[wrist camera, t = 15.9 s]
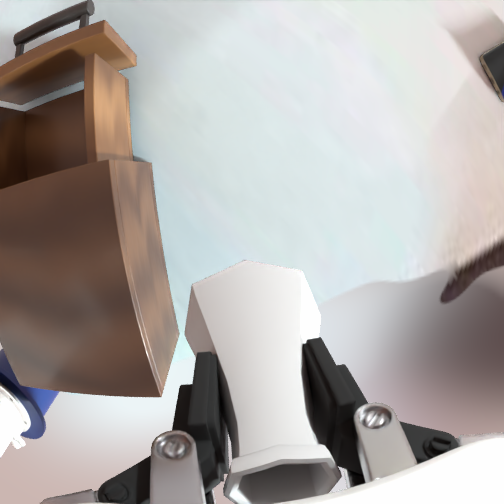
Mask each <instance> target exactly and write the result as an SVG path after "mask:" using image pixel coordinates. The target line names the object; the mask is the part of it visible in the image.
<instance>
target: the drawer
mask: <svg viewBox="0 0 504 504" xmlns="http://www.w3.org/2000/svg"><path fill="white" fill-rule="evenodd" d="M93 14H94V4H93V1H92V0H87V1H84V2H81V3H79V4H76V5H74V6H71V7H69V8H67V9H64V10H62V11H60V12H57V13H55V14H53V15H51V16H49V17H47V18H45V19H42V20H40V21H38V22H36V23H35V24H33V25H31V26H29V27H27V28H25V29H23V30H21V31H20V32H18V33H16V34H15V35H14V39H13V41H14V44H15V46H16V54H15V59H13V60H11V61H9V62H7V63H6V64H4V65H2V66H1V67H0V101H5V102H9V103H14V104H18V105H23V104H25V103H27V102H30V101H32V100H34V99H37V98H39V97H41V96H44V95H46V94H49V93H51V92H54V91H56V90H59V89H62V88H64V87H67V86H70V85H73V84H76V83H78V82H81V81H84V89H83V90H80V91H77V92H74V93H71V94H69V95H66V96H63V97H60V98H57V99H55V100H52V101H50V102H47V103H45V104H42V105H40V106H37V107H35V108H32V109H30V110H28V111H25V112H24V111H19V110H14V109H9V108H4V107H0V190H1V189H4V188H7V187H9V186H12V185H15V184H18V183H22V182H25V181H28V180H31V179H34V178H38V177H41V176H44V175H48V174H51V173H55V172H59V171H62V170H66V169H70V168H74V167H78V166H82V165H86V164H90V163H94V162H98V161H103V160H107V159H113V160H126V161H133V154H132V142H131V129H130V112H129V85H128V79H127V78H125V77H124V76H123V75H122V74H120V73H119V72H118V70H122V69H126V68H130V67H134V66H136V54H135V53H134V52H133V51H132V50H131V49H130V47H129V46H128V45H127V44H126V43H125V42H124V41H123V39H122V38H121V37H120V36H119V35H118V34H117V33H116V32H115V30H114V29H113V28H112V27H111V26H110V25H109V24H108V23H107V21H106V20H103V21H100V22H97V23H94V24H91V25H88V24H89V16H91V15H93ZM77 20H80V26H79V29H77V30H75V31H72V32H69V33H67V34H65V35H62V36H60V37H57V38H55V39H53V40H51V41H48V42H46V43H44V44H42V45H40V46H38V47H36V48H34V49H32V50H30V51H28V52H26V53H24V54H23V51H24V45H25V44H27V43H29V42H31V41H32V40H34V39H36V38H38V37H41V36H43V35H45V34H47V33H49V32H51V31H53V30H56V29H58V28H60V27H63V26H65V25H67V24H70V23H72V22H75V21H77Z"/></svg>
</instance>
